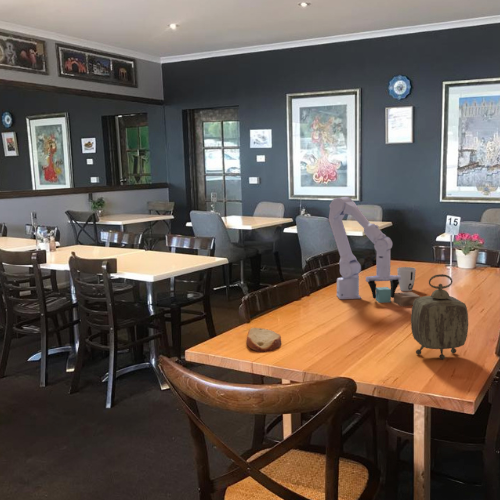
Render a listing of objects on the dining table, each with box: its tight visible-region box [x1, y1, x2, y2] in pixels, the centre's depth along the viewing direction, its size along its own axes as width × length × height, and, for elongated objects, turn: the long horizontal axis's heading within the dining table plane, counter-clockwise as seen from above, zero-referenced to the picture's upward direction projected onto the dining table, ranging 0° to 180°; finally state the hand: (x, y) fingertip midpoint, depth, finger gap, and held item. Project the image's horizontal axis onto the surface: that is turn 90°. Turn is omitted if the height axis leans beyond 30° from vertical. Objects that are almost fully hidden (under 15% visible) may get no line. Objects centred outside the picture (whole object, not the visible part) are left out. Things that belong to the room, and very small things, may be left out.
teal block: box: [375, 286, 392, 304], centre depth 234 cm, size 5×5×6 cm
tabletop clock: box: [410, 273, 469, 361], centre depth 162 cm, size 14×9×25 cm, turn 92°
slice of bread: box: [245, 327, 282, 353], centre depth 184 cm, size 18×18×4 cm
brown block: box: [393, 291, 421, 307], centre depth 229 cm, size 8×8×4 cm
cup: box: [396, 266, 416, 292], centre depth 253 cm, size 8×8×10 cm
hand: (383, 297), depth 234 cm, fingers open, 7 cm apart
